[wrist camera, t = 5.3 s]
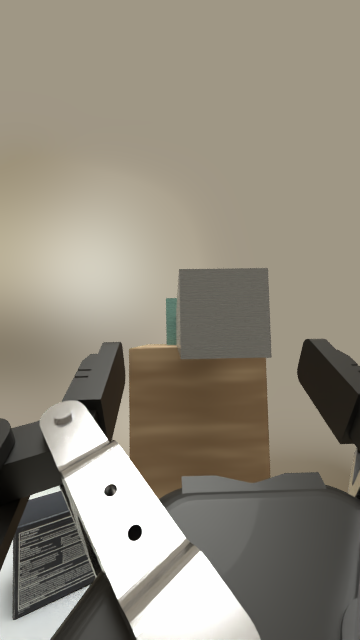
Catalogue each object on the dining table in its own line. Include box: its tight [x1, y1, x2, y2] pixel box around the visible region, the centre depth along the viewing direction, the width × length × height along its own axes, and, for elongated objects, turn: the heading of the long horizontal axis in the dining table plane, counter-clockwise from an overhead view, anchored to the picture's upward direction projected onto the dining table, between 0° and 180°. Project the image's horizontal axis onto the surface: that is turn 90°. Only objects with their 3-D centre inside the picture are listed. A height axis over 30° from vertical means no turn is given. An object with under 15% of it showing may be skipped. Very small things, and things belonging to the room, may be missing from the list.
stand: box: [129, 344, 270, 499], centre depth 26 cm, size 14×10×32 cm
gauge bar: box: [166, 268, 271, 359], centre depth 22 cm, size 26×6×5 cm, turn 1°
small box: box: [13, 491, 96, 619], centre depth 38 cm, size 11×6×10 cm, turn 121°
